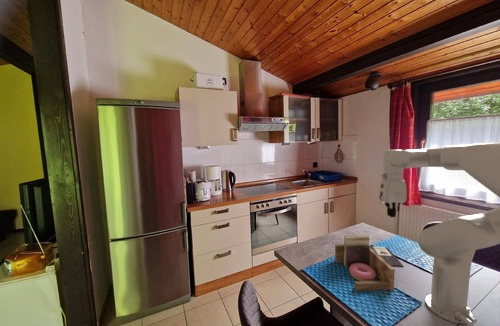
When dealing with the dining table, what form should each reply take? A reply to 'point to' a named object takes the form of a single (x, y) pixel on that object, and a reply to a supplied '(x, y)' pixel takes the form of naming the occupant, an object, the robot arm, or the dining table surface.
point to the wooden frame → (376, 262)
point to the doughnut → (362, 272)
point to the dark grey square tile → (357, 255)
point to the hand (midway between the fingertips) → (391, 216)
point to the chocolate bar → (387, 256)
